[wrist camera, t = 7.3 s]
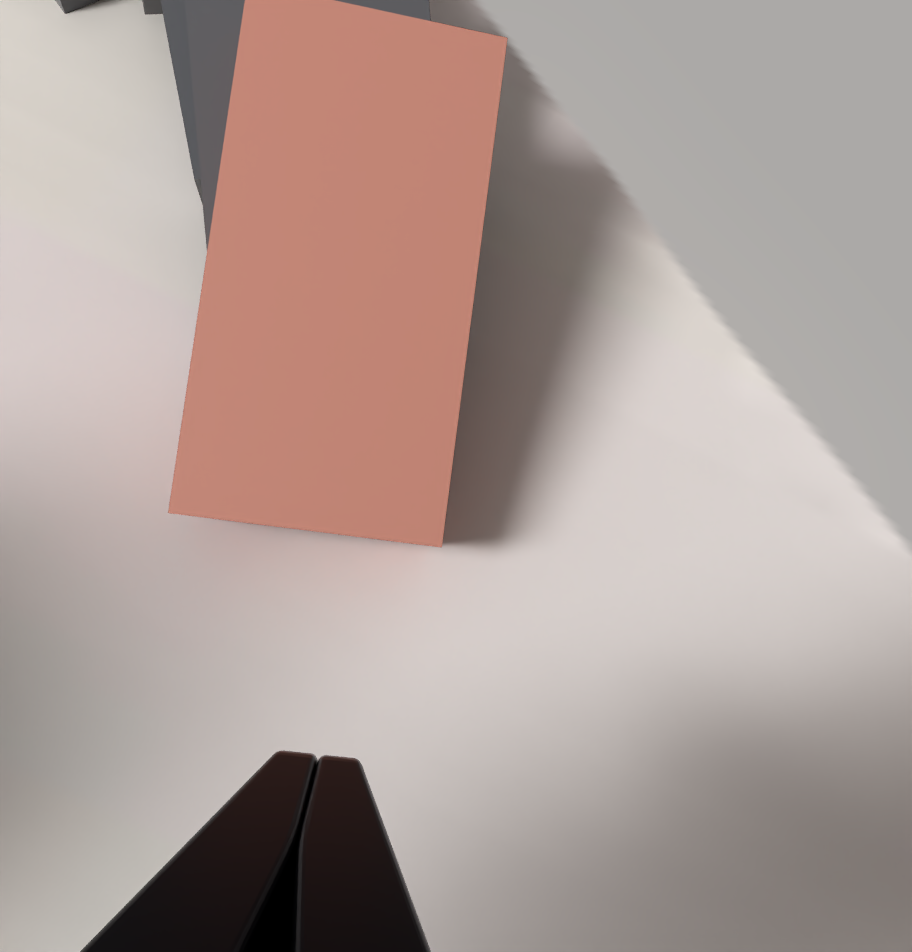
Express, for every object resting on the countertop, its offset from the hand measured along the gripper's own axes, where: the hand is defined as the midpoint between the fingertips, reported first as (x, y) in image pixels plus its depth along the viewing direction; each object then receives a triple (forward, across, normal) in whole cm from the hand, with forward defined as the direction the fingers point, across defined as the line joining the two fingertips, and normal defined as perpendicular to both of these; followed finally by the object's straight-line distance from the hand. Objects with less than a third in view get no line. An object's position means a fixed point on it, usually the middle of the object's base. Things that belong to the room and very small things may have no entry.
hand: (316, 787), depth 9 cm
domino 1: (+8, +1, +1) cm, 8 cm away
